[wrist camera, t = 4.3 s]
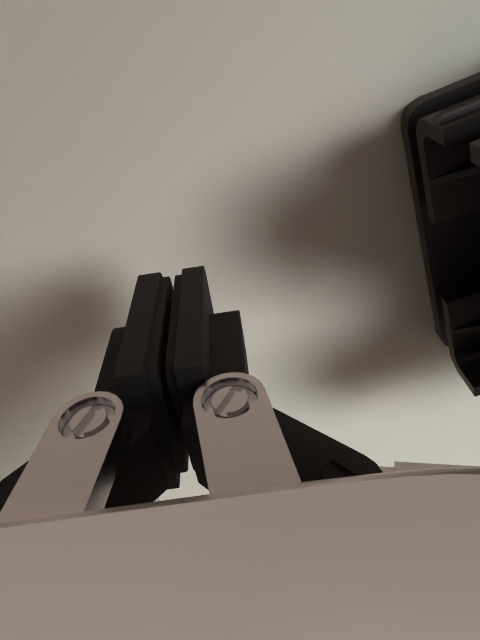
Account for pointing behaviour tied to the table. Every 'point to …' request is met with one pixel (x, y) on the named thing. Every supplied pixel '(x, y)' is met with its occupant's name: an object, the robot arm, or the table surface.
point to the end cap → (449, 212)
